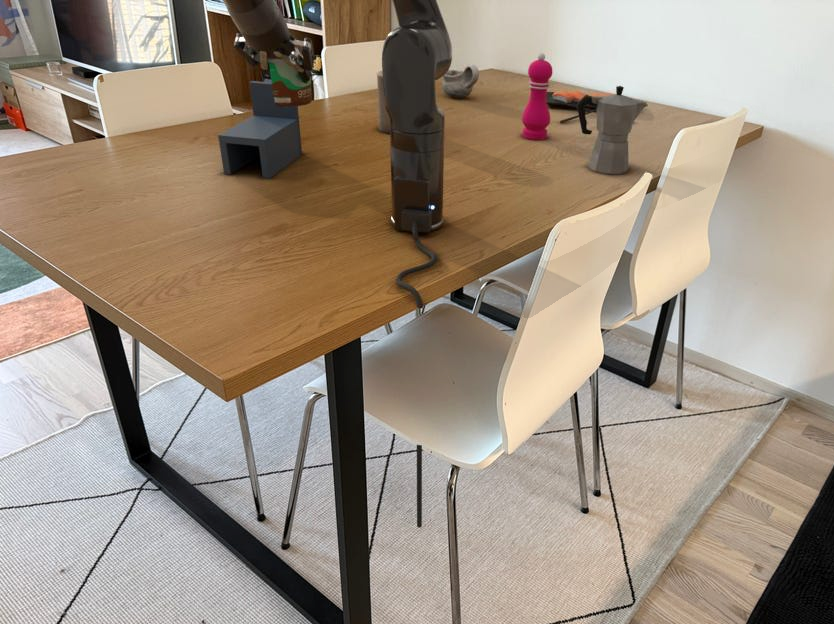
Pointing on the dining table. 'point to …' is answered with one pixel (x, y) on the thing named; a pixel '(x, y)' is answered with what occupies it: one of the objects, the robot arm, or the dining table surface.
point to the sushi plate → (569, 101)
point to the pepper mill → (537, 100)
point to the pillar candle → (382, 106)
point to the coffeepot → (611, 129)
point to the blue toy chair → (262, 135)
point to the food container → (288, 85)
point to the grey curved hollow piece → (460, 81)
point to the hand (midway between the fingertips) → (291, 78)
